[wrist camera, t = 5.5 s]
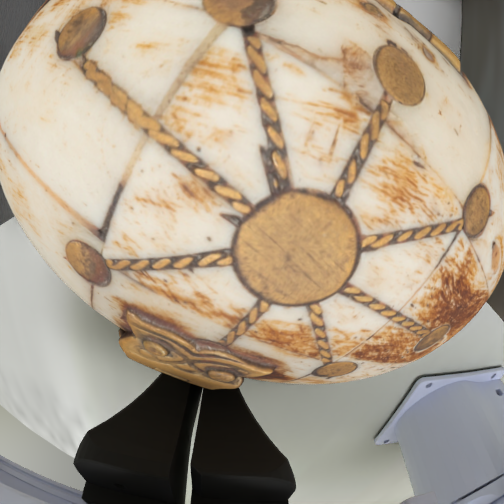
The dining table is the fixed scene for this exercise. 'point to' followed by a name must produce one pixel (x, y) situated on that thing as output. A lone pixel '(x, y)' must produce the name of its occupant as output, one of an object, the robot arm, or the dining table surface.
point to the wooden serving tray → (486, 77)
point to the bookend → (3, 38)
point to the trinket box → (255, 181)
